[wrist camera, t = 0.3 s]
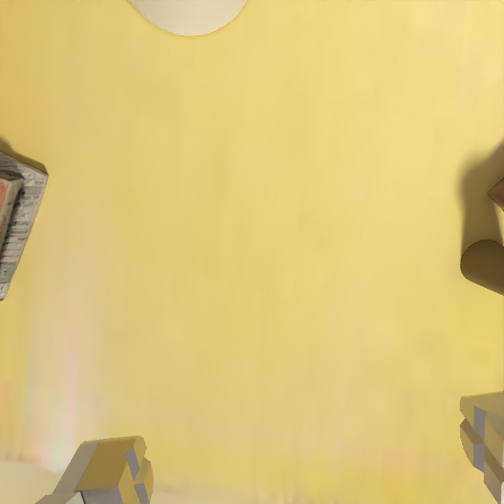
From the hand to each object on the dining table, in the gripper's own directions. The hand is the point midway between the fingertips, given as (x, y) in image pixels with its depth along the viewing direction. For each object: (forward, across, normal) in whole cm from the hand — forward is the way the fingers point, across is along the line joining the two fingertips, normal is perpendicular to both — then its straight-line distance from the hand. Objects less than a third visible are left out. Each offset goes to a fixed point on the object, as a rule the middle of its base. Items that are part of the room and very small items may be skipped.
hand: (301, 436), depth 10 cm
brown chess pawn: (+42, -28, +13) cm, 52 cm away
